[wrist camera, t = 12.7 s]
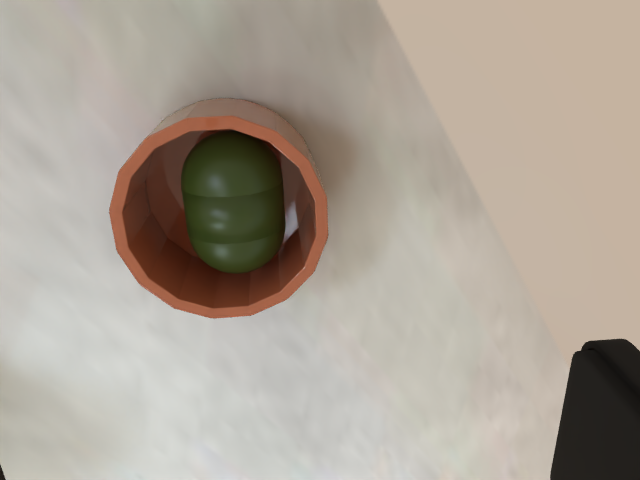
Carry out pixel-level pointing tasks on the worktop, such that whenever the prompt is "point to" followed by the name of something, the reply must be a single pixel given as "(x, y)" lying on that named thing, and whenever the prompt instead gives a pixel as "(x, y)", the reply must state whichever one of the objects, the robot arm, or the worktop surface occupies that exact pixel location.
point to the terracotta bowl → (170, 224)
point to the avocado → (233, 201)
